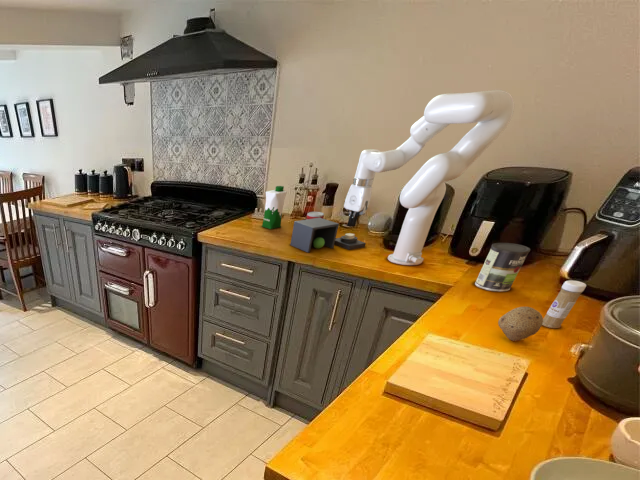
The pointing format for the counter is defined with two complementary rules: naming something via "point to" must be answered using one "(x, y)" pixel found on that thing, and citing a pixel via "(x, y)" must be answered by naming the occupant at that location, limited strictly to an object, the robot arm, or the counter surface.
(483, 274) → the coffee can
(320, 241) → the ball
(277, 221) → the milk carton
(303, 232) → the cubby
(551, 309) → the sprinkles bottle
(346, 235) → the button
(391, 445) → the counter surface
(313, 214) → the canned food
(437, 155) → the robot arm
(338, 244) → the button housing
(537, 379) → the counter surface
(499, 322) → the potato
